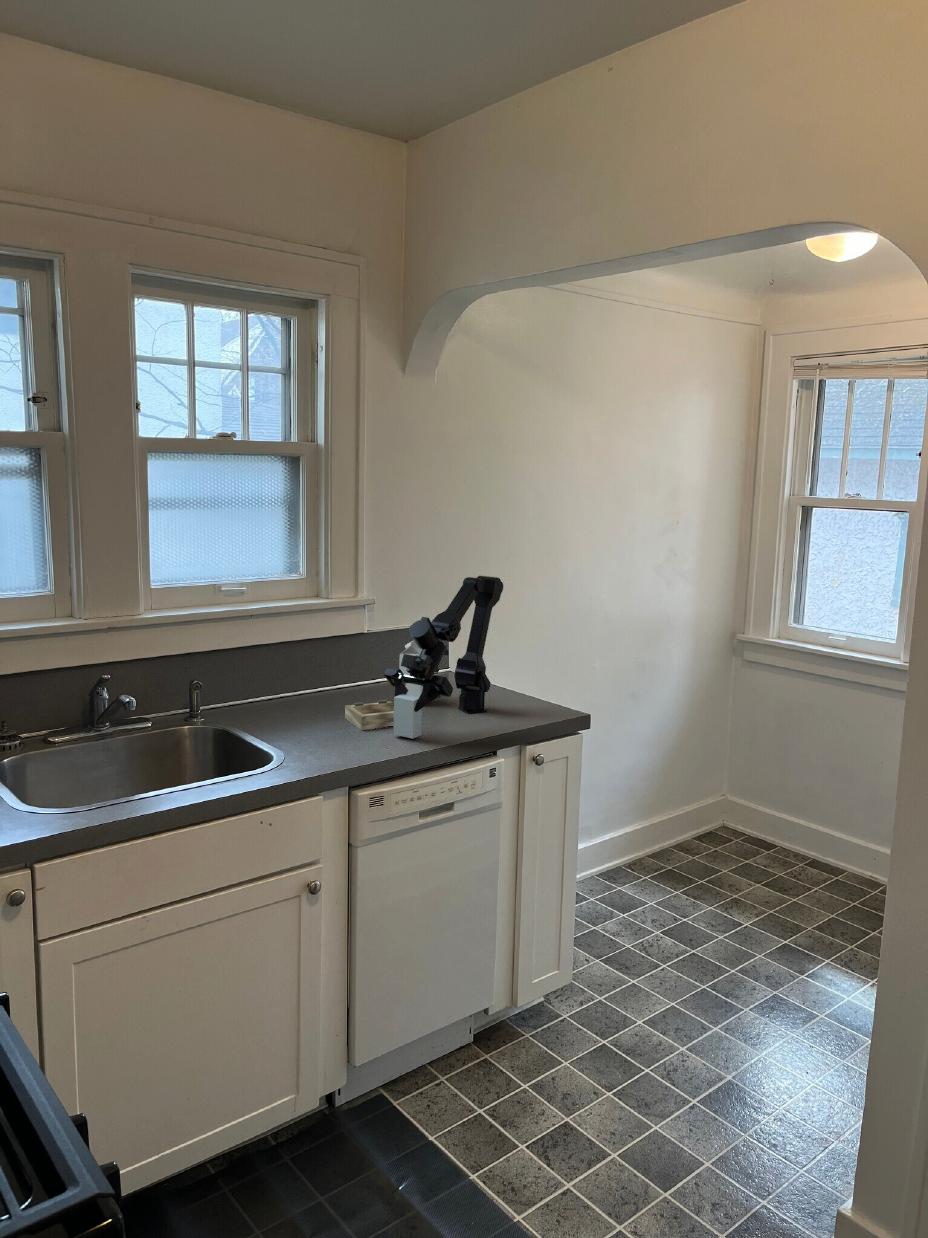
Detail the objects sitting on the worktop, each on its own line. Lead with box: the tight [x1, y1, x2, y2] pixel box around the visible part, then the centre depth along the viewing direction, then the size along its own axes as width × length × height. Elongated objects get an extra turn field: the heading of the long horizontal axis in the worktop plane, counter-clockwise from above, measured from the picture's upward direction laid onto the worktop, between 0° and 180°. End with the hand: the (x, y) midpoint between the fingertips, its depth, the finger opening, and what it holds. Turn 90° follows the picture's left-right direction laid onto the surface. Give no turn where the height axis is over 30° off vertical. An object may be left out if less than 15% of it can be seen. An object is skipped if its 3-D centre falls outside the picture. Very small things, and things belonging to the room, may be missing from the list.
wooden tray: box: [344, 699, 394, 731], centre depth 254 cm, size 14×12×4 cm
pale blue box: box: [393, 694, 423, 739], centre depth 240 cm, size 4×6×10 cm, turn 59°
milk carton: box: [398, 639, 423, 697], centre depth 274 cm, size 7×7×19 cm
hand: (404, 709), depth 238 cm, fingers closed on pale blue box, 6 cm apart
